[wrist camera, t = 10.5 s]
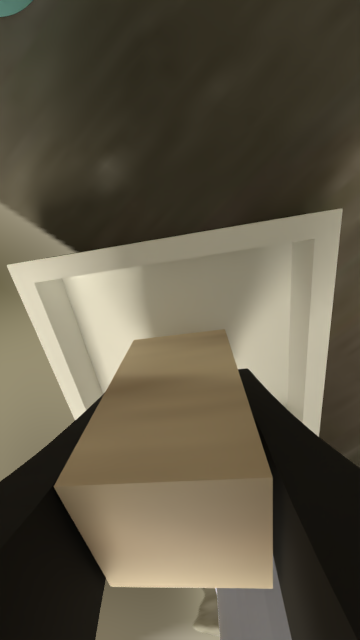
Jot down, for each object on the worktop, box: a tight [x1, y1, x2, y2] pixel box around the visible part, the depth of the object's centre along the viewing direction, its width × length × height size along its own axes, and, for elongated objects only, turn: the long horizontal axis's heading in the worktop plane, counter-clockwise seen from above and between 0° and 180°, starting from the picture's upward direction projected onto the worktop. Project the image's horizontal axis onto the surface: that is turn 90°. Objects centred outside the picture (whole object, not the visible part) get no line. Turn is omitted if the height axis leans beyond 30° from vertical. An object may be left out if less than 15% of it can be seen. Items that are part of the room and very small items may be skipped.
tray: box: [7, 208, 343, 437], centre depth 11 cm, size 12×12×2 cm
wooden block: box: [54, 329, 273, 589], centre depth 7 cm, size 4×4×6 cm
